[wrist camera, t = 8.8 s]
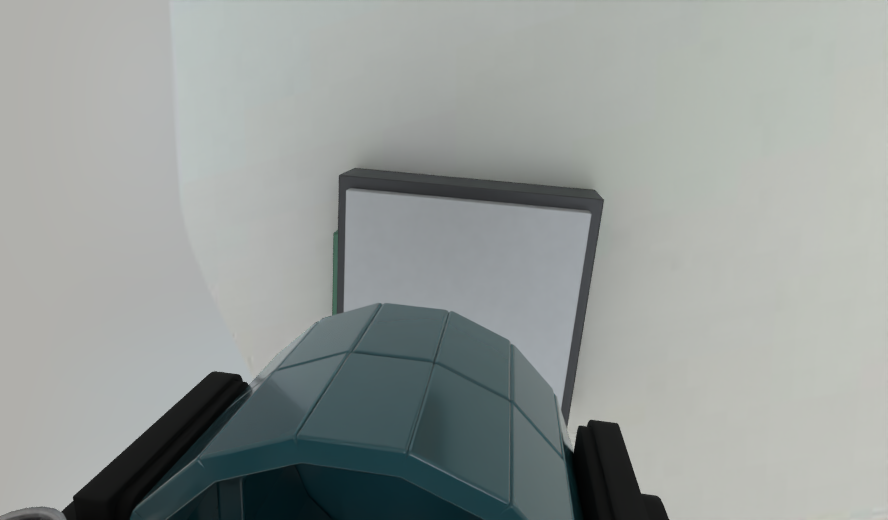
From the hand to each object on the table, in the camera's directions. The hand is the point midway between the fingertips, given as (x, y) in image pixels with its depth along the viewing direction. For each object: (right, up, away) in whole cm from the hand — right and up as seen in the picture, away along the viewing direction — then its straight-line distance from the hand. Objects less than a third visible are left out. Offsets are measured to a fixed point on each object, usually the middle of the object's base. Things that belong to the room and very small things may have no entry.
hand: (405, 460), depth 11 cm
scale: (+2, +3, +15) cm, 15 cm away
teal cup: (0, 0, +1) cm, 1 cm away
